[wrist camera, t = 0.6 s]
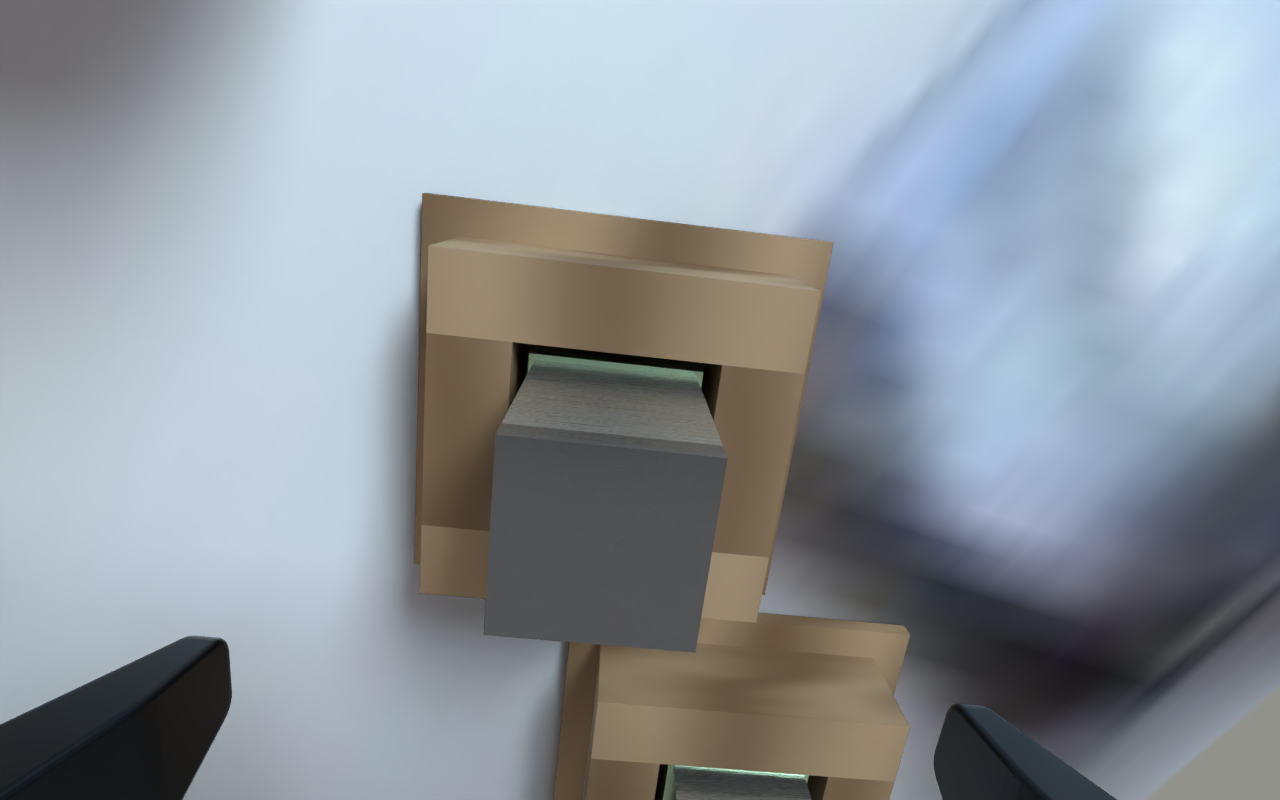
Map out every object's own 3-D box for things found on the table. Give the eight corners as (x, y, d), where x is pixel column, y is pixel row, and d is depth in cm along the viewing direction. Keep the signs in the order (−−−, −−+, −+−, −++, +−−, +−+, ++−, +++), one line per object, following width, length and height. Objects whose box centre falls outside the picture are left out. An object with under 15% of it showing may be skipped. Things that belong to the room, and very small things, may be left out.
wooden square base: (903, 625, 23) (952, 701, 19) (837, 872, 26) (869, 974, 22) (574, 596, 22) (565, 669, 19) (548, 852, 25) (536, 953, 22)
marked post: (694, 352, 19) (737, 451, 12) (674, 492, 20) (701, 659, 13) (539, 334, 19) (487, 425, 11) (529, 478, 20) (475, 640, 13)
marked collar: (828, 241, 19) (884, 255, 15) (761, 586, 22) (792, 676, 18) (427, 193, 18) (370, 193, 14) (418, 554, 21) (370, 641, 17)
